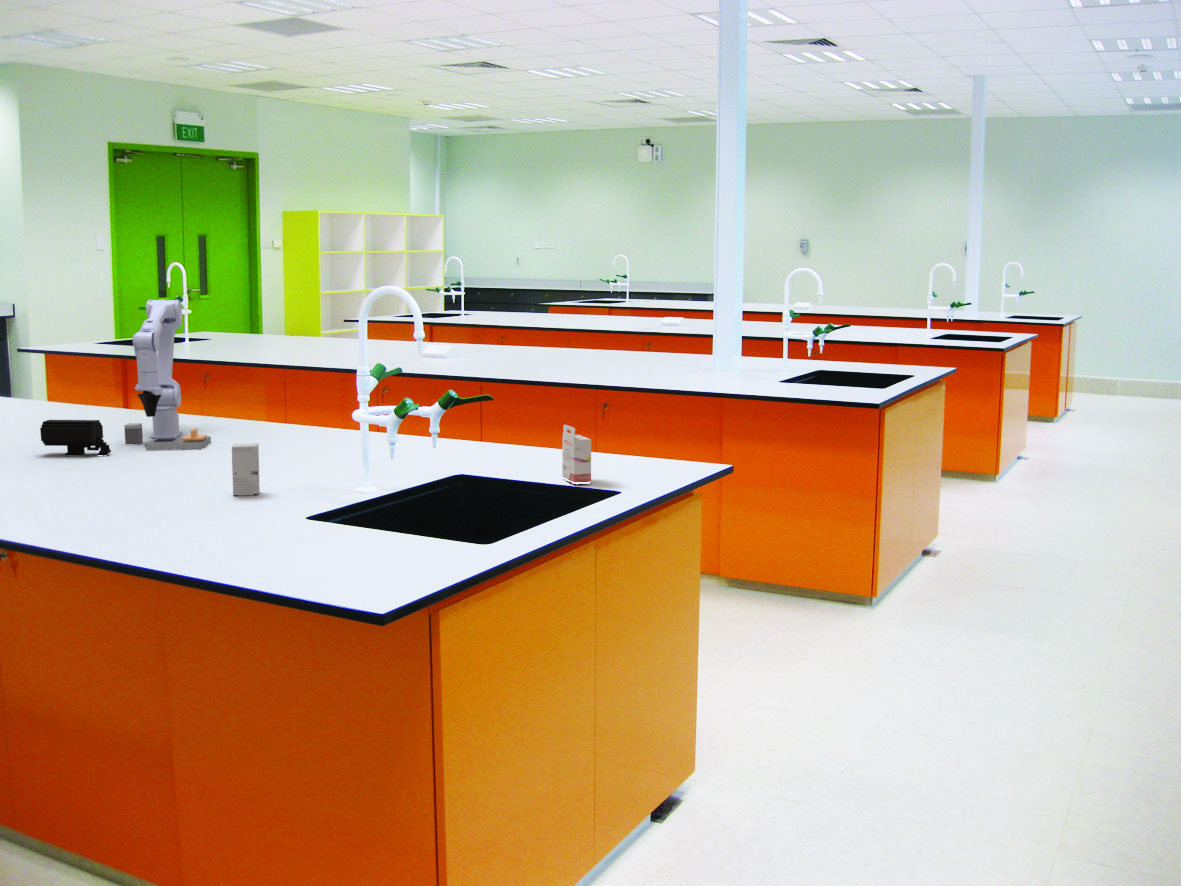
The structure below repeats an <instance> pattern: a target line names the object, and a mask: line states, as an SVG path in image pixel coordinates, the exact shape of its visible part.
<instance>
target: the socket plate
mask: <svg viewBox="0 0 1181 886" xmlns="http://www.w3.org/2000/svg"><path fill="white" fill-rule="evenodd" d="M183 437H184V436H177V437H156V438H152V439H151V440H150V441H148V442H146V443H145V450H146V451H164V450H163V449H199V450H203V449H205V448H206V447H207V446H209V445H210V444H211V443H212V437H211V436H209V435H207V437H206V438H205V439H203V440H184V441H182V438H183ZM209 443H210V444H209ZM208 444H209V445H208ZM206 445H207V446H206ZM205 446H206V447H205ZM204 447H205V448H204ZM202 448H203V449H202Z"/></svg>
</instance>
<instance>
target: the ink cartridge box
mask: <svg viewBox="0 0 1181 886" xmlns="http://www.w3.org/2000/svg"><path fill="white" fill-rule="evenodd" d="M562 430H563V432H562V457H561V458H562V464H561V465H562V466H561V467H562V470H561V471H562V472H561V473H562V477H564V478H566V479H568V480H570V481H573V482H589V481H591V482H592V439H591V438H589V437H586V436H583V435H581V434H576V428H575V427H573V426H570V425H567V424H563V428H562ZM568 431H569V432H568Z"/></svg>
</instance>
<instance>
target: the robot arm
mask: <svg viewBox="0 0 1181 886" xmlns="http://www.w3.org/2000/svg"><path fill="white" fill-rule="evenodd" d="M145 311H146V316H147V319H145V320H144V321H143V323H142V325H141V327H140V329H139V331H137V332H136V333H134V334H133V336H132V346H133V350H134V356H135V358H136V366H137V379H138V380H137V381H138V384H135V385H136V386H134V390H136V391H138V392H142V393H138V394H137V397H138V398H139V400H140V401H141V404H142V406H143V410H144V414H145V416H146V417H148V418H151V417H152V433H153V434H152V435H150V436H149V439H155V438H156V437H180V435H182V434H183V433H184V432H183V431H180V419H179V416H180V415H179V413H178V411H177V408H179V407H180V406H181V404H182V394H181V391H182V390H181V385H180V384H179V382H177V381H176V380H175V379H173V363H174V347H175V335H176V331H177V330H178V329H180V328H181V325H182V319H183V317H182V316H183V310H182V303H181V301H180V300H179V299H148V300H147V301H146V304H145Z"/></svg>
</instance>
